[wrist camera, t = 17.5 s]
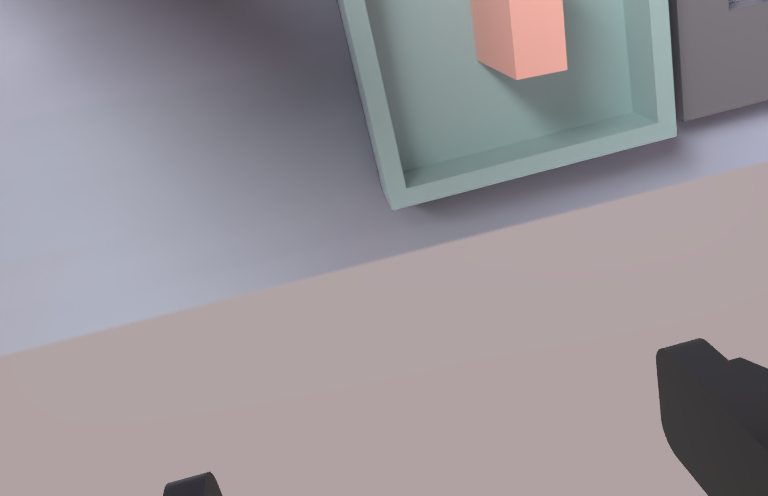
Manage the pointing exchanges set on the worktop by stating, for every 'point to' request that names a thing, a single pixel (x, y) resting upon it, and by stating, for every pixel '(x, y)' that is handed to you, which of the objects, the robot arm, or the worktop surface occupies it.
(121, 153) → the worktop surface
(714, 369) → the robot arm
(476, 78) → the tray
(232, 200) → the worktop surface
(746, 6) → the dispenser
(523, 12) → the pink rubber eraser
